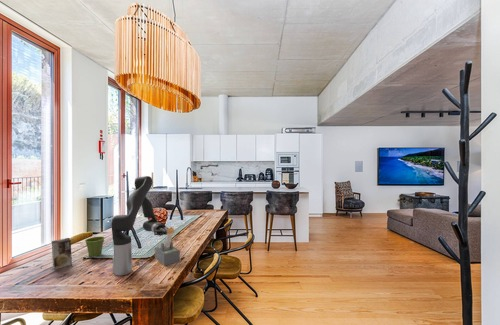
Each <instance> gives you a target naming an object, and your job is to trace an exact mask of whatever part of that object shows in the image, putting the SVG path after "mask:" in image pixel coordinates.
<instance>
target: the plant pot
mask: <svg viewBox="0 0 500 325" xmlns="http://www.w3.org/2000/svg"><path fill="white" fill-rule="evenodd" d="M104 239H106V237H105V236H94V237H89V238H86V239H84V242H85V244H86V248H87V252H88V257H91V258H92V257H93V258H95V257H94V256H96V257H98V255H99V256H101V255H102V251H103V244H104V241H105V240H104ZM100 254H101V255H100Z"/></svg>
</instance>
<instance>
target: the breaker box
mask: <svg viewBox="0 0 500 325" xmlns="http://www.w3.org/2000/svg"><path fill="white" fill-rule="evenodd" d="M173 244H174V243H173V241H172V240H171V243H170V247H169V248H164V245H165V243H160V246H157V247H154V254H155V255H154V258H155V260H157V261H158V262H159V264H162V265H163V266H164V267H166V266H169V265H173V264H176V263H179V262H181V254H180V252H181V251H180V250H179V249H178V248H176V247H175V246H174V245H173Z"/></svg>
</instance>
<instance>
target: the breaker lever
mask: <svg viewBox="0 0 500 325" xmlns="http://www.w3.org/2000/svg"><path fill="white" fill-rule="evenodd" d="M168 228H169V229H167V235H165V236H166V237H165V239H164V240H165V241H164V248H169V247H170V243H171V241H172V239H173V238H172V237H173V233H174V232H175V229H174V227H173V228H171V227H168Z"/></svg>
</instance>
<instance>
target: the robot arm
mask: <svg viewBox="0 0 500 325" xmlns="http://www.w3.org/2000/svg"><path fill="white" fill-rule="evenodd" d="M152 186H153V178H152V177H151V176H149V175H148V176H147V175H144V176H140V177H135V179H134V187H135V190H134V191H133V192H131V194H130V195H129V196H128V198H127V200H126V207H127V209H128V211H129V213H128V214H119V215H114V216H113V217H112V220H111V236H112V242H113V256H112V274H114V275H115V276H118V277H119V276H120V277H121V276H126V275H129V274H131V273H132V272H133V257H132V256H133V254H132V237H131V236H130V235H127V234H126V233H124V232H129V231H131V230H132V229H133V228H134V224H135V222H136V220H137V216H138V214H139V211H140V209H141V208H142V209H141V210H142V213H143V217H144V218H145V219H146V218H147V219H148V220H144V222H143V223H142V228H143V230H144V231H146V232H153V235H154V236H163V235H164V236H167V229H169V228H173V229H174V227H172V226H171V227H167V226H166V225H165V224H163V223H161V222H159V221H158V219H157V217H156V216H155V212H154V207H153V204H152V202H151V201H150V200H149V198H148V197H147V195H148V193H149V191H150V190H151V189H152ZM149 218H151V219H149Z"/></svg>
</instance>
